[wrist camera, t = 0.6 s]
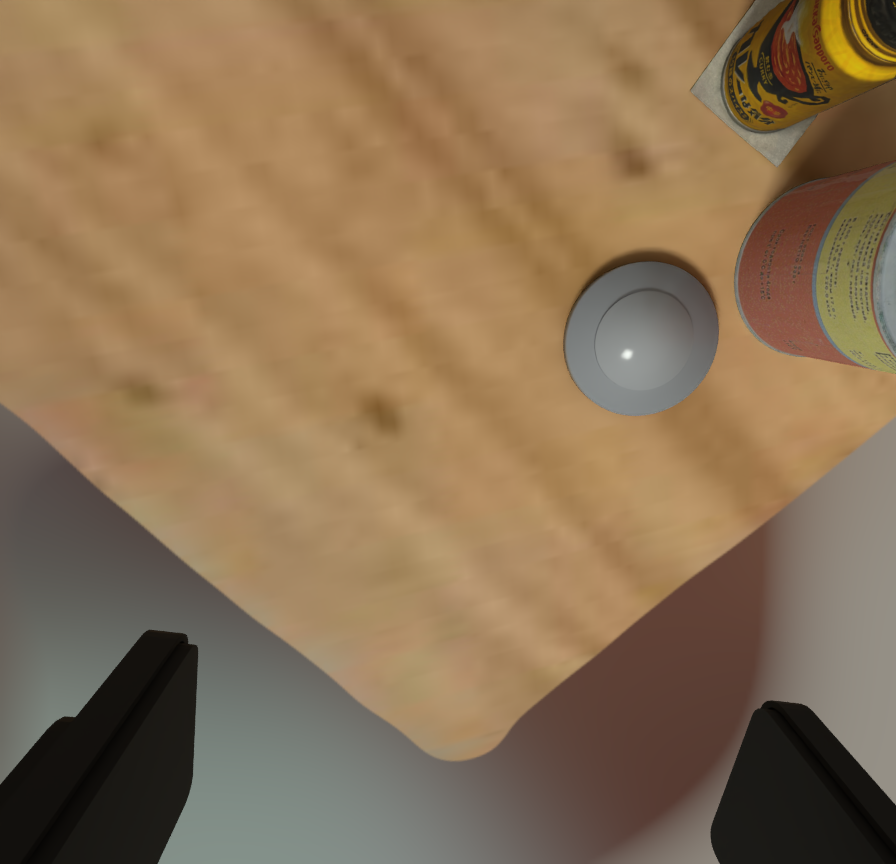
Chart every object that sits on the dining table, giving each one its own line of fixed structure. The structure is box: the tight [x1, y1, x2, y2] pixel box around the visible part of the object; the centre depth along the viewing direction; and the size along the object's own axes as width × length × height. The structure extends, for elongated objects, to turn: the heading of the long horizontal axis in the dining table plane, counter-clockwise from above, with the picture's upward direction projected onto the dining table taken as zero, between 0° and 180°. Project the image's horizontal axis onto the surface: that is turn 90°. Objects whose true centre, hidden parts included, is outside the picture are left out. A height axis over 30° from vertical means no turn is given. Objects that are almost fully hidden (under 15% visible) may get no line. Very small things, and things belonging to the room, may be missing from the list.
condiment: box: [691, 0, 896, 167], centre depth 27 cm, size 7×8×12 cm
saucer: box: [563, 261, 719, 416], centre depth 36 cm, size 10×10×1 cm
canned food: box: [734, 160, 896, 374], centre depth 30 cm, size 11×11×12 cm
